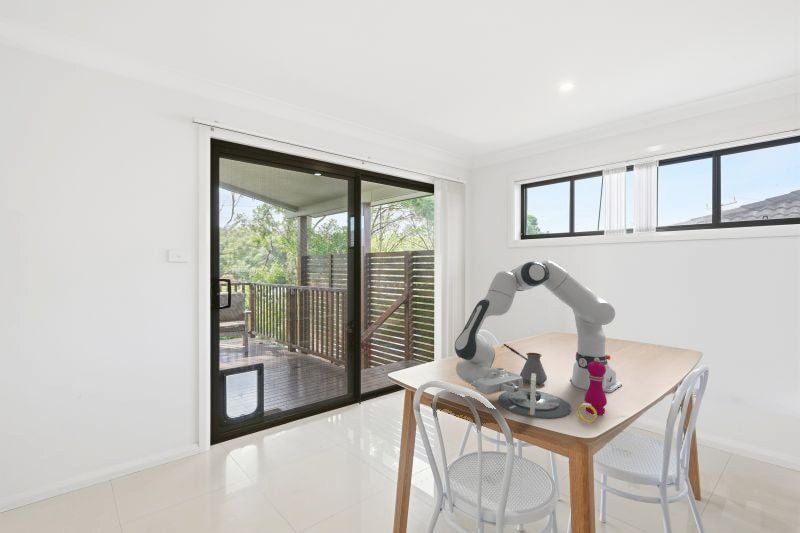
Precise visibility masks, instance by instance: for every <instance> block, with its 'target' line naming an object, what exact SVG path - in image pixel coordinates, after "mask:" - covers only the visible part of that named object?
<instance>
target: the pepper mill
mask: <svg viewBox="0 0 800 533" xmlns="http://www.w3.org/2000/svg"><path fill="white" fill-rule="evenodd" d="M599 361H600V360H599V358H595V359H594V362H590V363H589V364H588V367H587V369H588V372H589V373H590V374H589V379H590V386H589V389H588V390H587V389H586V393H585V394H584V403H590V404H591V405H592V407H593V408H594V409H595V410H596V412H597V416H604V415H605V414H606V408H605V406H606V405H607V403H608V401H607V400H608V399H607V396H606V394H605V392H604V391H603V388H602V382H603V380H604V376H603V375H604V374H605V372H606V368H605V366H604V364H602V363H600V362H599ZM585 411H586V412H587V414H590V413H591V414H590V415H593V414H594V412H593V410H592V409H591V408H590V407H585ZM603 414H604V415H603Z"/></svg>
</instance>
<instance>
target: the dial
mask: <svg viewBox="0 0 800 533" xmlns="http://www.w3.org/2000/svg"><path fill="white" fill-rule="evenodd" d="M536 389H537V385H536V374H534V373H532V375H531V385H530V389H519V391H518V392H514V393H512V392H511V393H510V394H509V400H510V401H511V402H512V403H513V404H515V405H517V406H520V407H522V408H526V409H530V415H535V410H538V411H549V410H554V409H557V408H558V407H559V400H558V399H557V398H556V397H554V396H555V395H554V396H552V395H553V394H551V395H550V393H548V394H547V392H543V391H540V390H536Z"/></svg>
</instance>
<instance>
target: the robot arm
mask: <svg viewBox="0 0 800 533" xmlns="http://www.w3.org/2000/svg"><path fill="white" fill-rule="evenodd" d="M541 285H542V286H544V287H545V289H547V290H548V291H550V292H551V293H552V294H553V295H554V296H555V297H556V298H558V300H560V301H562V302H561V303H564V304H565V305H567V306H568V307H569V308H571V310H572V312H573V314H574V321H575V327H576V334H577V349H576V350H577V351H576V352H575V362H574V363H573V366H572V367H573V369H572V375H571V377H570V378H569V381H571V384H572V385H573V386H574V387H576V388H579V389H583V390H586V391H587V390H588V389H589V386H590V379H589V374H590V373H589V372H588V369H587V367H588V364H589V363H590V362H594V359H595V358H599V360H600V361H599V362H600V363H602V364H604V366H605V368H606V372H605V374H604V375H603V376H604V380H603V382H602V388H603V391H604V393H605V392H606V393H612V392H614V391H616V390H617V389H618V387H619V388H621V387H622V386H623V383H622V382H620V381H619V380H617V373H616V370H614V369H613V368H612V366H610V365H609V362H608V361H609V360H611V358H612V357H611V355H609V354H606V345H607V344H606V336H605V333H604V329H603V326H607V325H609V324H610V323H612V322H613V320H614V319H615V317H616V311H615V308H614V307H613V306H612V304H610V303H609V302H607V301H606V300H605V299H604V298H602V297H601V296H600V295H598V294H597V293H595V292H594V291H592V290H591V289H589V288H588V287H587V286H585V285H583V284H582V283H581V282H580V281H579V280H578V279H576V278H575V277H574V276H573V275H572V274H570V273H569V272H568V271H567V270H565V269H564V268H563V267H561V266H560V265H558V264H557V263H555V262H553V261H552V260H548V259H547V260H543V261H541V262H539V261H527V262H526V263H523V264H520V265H518V266H517V267H516V268H514V269H512V270H511V271H509V270H508V271H507V270H501V271H498V272H497V273H496V274H495V276H494V277H493V279H492V281H491V283H490V285H489V287H488V290H487V293H486V295H485V297H484V298H482V299H481V300H479V301H478V302H477V303H476V305H475V307H474V309H473V311H472V312H471V315H470V316H469V318H468V320H467V321H466V324H465V326H464V327H463V330H462V331H461V333H460V334H459V335H458V337H457V338H456V340H455V342H454V351H455V354H456V356H457V357H458V358H460V359H461V360H459V361H458V362H456V366H455V372H456V375H457V376H458V377H459V379H460V380H462V381H463V382H465V383H467V384H469V385H471V387H473V388H475V390H476V391H477V392H479V393H481V394H482V395H483V394H484V395H487V396H488V395H492V394H496V393H500V392H501V393H502V392H507V391H508V392H512V393H514V392H518V391H519V390H520V388H522V387H523V386H524V381H523V378H522V376H520V374H517V373H514V372H512V371H508V370H507V369H506V368H501V367H499V368H498V367H495V368H494V367H492V365H493V364H494V362H495V359H496V358H495V357H496V352H495V348H494V347H493V346H492V345H491V344H489V343H487V342H485V341H483V340H481V339H479V338H478V334H479V332H480V330H481V328H482V326H483V325H484V321H485V320H486V319H487V318H488V317H490V316H491V317H492V316H493V317H494V316H496V317H497V316H499V317H500V316H503V315H505V314H507V313H509V311H510V309H511V308H512V305H513V302H514V299H515V295H516V293H517V292H524V291H527V290H531V289H534V288H536V287H538V286H541ZM621 385H622V386H621ZM615 389H616V390H615Z"/></svg>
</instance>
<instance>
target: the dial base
mask: <svg viewBox="0 0 800 533" xmlns="http://www.w3.org/2000/svg"><path fill="white" fill-rule="evenodd" d="M510 393H511V392H508V391H503V392H501V393H500V394H499V396H498V403H499V405H500V406H501V407H502V408H503V409H506V410H507V411H509V412H511V413H514V414H517V415H520V416H523V417H529V418H532V419H543V420H547V419H548V420H555V419H560V418H565V417H567V416H569V415H570V414H571V412H572V407H571V404H570V403H569V402H568V401H567V400H565V399H563V398H562V397H559V396H557V395H553V394H550V393H547V392H546V393H547V394H550V395H552V396H554V397H556V398H557V399H558V400H559V407H558V408H557V409H554V410H549V411H538V410H535V415H530V409H526V408H522V407H520V406H517V405H515V404H513V403H512V402H511V401H510V400H509V394H510Z"/></svg>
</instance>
